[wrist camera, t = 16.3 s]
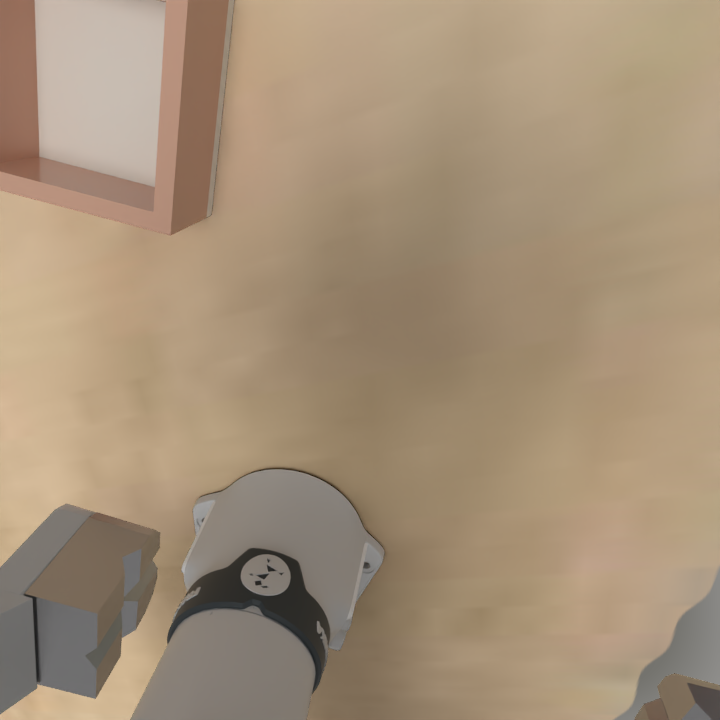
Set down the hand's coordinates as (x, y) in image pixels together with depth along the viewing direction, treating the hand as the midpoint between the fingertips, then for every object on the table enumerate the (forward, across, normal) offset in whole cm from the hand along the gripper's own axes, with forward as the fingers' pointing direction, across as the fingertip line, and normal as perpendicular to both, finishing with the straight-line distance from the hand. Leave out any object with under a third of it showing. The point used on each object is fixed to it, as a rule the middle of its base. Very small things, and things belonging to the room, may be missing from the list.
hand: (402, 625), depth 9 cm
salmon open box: (+34, +23, -3) cm, 41 cm away
